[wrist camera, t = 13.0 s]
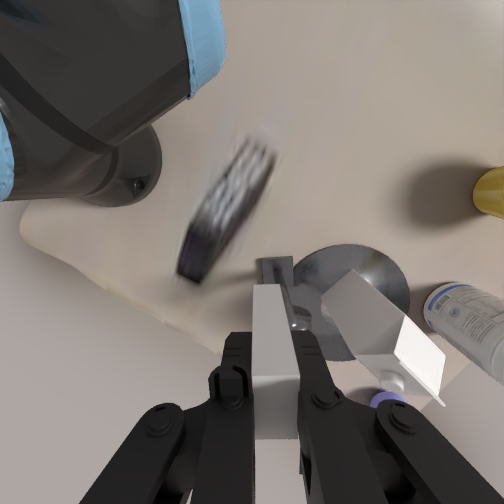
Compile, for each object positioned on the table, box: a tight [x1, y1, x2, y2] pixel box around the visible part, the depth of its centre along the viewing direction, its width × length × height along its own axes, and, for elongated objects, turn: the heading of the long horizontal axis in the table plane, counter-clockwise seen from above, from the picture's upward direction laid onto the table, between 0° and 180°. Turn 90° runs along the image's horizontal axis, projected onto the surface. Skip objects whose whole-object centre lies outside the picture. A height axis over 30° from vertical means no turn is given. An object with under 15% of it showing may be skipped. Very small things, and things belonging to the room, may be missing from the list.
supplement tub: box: [423, 282, 504, 386], centre depth 34 cm, size 10×10×15 cm
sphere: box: [370, 392, 408, 408], centre depth 43 cm, size 7×7×7 cm
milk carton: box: [320, 269, 446, 407], centre depth 32 cm, size 7×7×19 cm
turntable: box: [287, 244, 409, 361], centre depth 42 cm, size 22×22×1 cm
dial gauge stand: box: [262, 256, 312, 332], centre depth 32 cm, size 5×6×18 cm
